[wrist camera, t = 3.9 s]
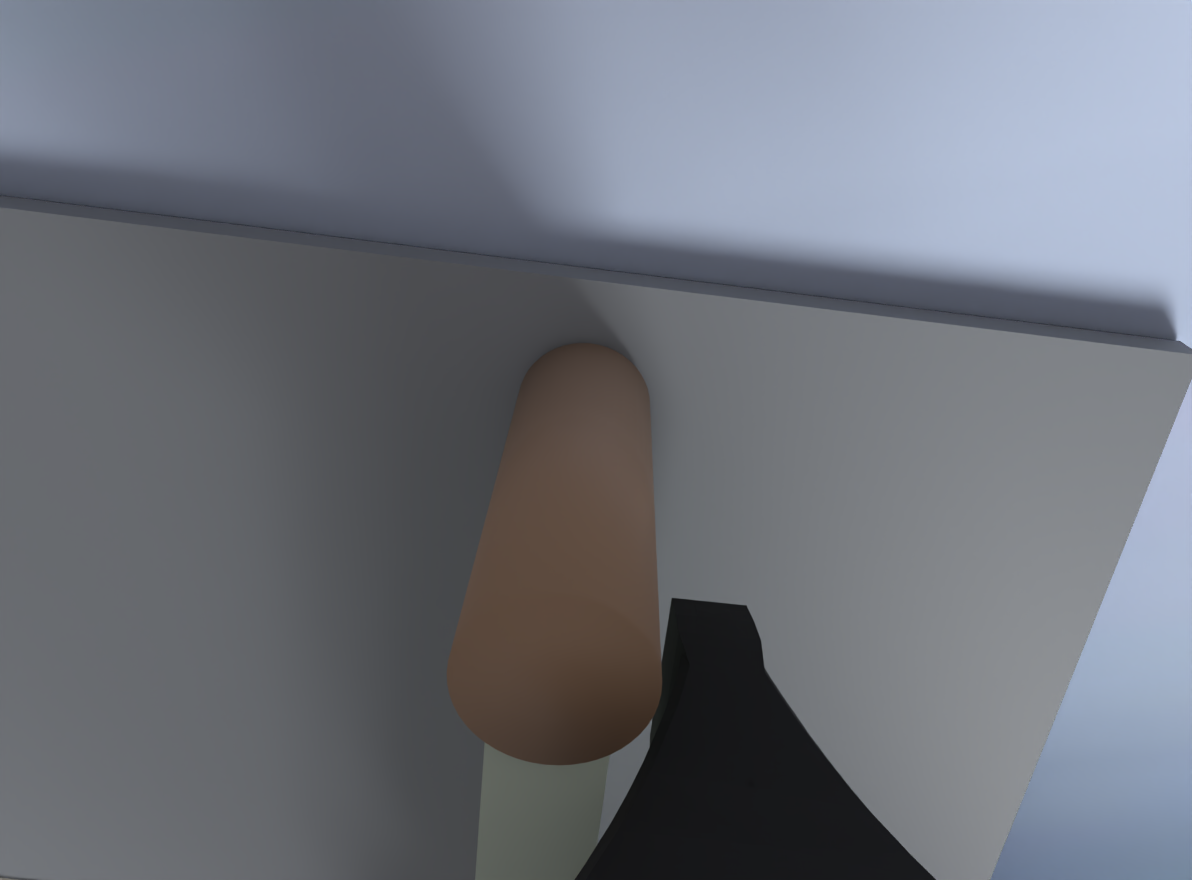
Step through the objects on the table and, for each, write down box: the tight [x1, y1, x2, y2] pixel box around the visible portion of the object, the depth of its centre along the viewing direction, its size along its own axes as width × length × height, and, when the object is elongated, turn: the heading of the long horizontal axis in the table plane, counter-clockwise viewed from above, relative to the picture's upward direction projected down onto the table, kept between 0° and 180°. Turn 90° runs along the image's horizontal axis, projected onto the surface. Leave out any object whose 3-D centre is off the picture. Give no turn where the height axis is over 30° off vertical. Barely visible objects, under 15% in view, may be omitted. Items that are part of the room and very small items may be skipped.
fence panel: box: [447, 343, 662, 880], centre depth 12 cm, size 12×2×5 cm, turn 174°
